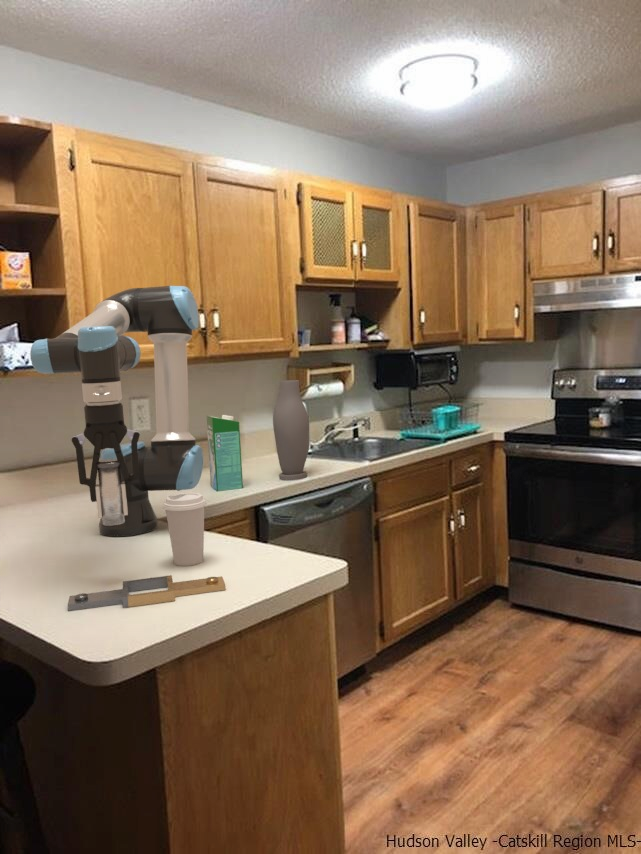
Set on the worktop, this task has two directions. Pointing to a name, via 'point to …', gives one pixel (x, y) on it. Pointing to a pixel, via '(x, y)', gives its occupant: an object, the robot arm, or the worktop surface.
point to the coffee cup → (186, 527)
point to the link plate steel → (114, 594)
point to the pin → (110, 492)
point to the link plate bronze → (177, 590)
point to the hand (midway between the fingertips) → (113, 514)
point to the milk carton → (224, 453)
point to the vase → (291, 431)
